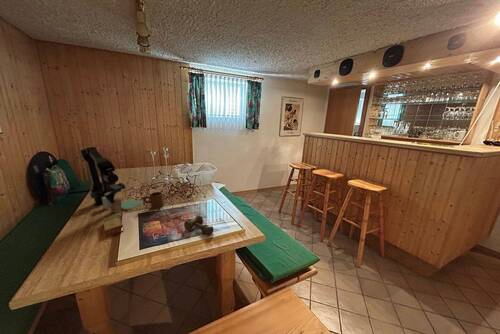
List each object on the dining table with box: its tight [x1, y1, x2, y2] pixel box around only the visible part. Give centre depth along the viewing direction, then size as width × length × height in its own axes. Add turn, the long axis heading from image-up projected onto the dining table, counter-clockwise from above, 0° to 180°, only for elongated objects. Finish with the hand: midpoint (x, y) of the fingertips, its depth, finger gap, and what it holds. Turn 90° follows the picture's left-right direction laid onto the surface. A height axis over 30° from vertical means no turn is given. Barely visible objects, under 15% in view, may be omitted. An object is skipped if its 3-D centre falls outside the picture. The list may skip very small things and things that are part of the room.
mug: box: [142, 191, 164, 209], centre depth 132 cm, size 12×8×9 cm, turn 123°
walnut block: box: [110, 197, 122, 213], centre depth 128 cm, size 4×4×8 cm
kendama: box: [183, 214, 214, 237], centre depth 108 cm, size 6×10×20 cm
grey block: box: [102, 197, 111, 210], centre depth 132 cm, size 4×4×8 cm
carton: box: [102, 213, 124, 237], centre depth 110 cm, size 8×16×4 cm, turn 40°
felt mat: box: [121, 198, 145, 210], centre depth 138 cm, size 14×12×1 cm
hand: (111, 203), depth 125 cm, fingers closed
